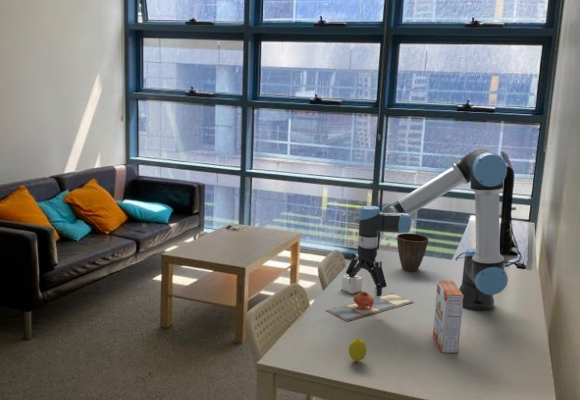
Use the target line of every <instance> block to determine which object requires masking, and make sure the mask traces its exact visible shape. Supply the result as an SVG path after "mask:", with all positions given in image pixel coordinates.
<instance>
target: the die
mask: <svg viewBox="0 0 580 400" xmlns="http://www.w3.org/2000/svg"><path fill="white" fill-rule="evenodd" d="M356 277H357V280H356V292H354V293H350V283H349V279H350V277H349V275H348V274H346V275H343V276H342V279H341V280H342V282H341V290H343V291H344V292H347V293H349V294H355V293H361V292H363V289H362V288H363V277H361V276H359V275H357V274H356Z"/></svg>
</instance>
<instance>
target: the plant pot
mask: <svg viewBox="0 0 580 400" xmlns="http://www.w3.org/2000/svg"><path fill="white" fill-rule="evenodd" d="M396 240H397V243H396V244H397V250H398V251H397V252H398V258H399V262H400V265H401V269H402V270H404V271H407V272H417V271H418V270H419V268H420V266H421V264H422V262H423V260H424V257H425V254H426V251H427V248H428V242H429V237H427V236H425V235H422V234H417V233H398V234H397V235H396Z"/></svg>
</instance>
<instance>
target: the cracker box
mask: <svg viewBox="0 0 580 400" xmlns="http://www.w3.org/2000/svg"><path fill="white" fill-rule="evenodd" d="M436 285H437V286H436V297H435V306H434V317H433V318H434V320H433V330H432V336H433V337H434V340H435V342H436V343H437V346H438V347H439V350H440V352H441V353H449V354H458V353H459V345H460V335H461V327H462V318H463V317H462V316H463V308H464V307H463V299H464V296H463V294H462V293H461V291H460V290H459V289H460V288H459V287H458V286H457V284H456V283H455V281H453V280H437V284H436Z"/></svg>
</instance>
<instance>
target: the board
mask: <svg viewBox="0 0 580 400" xmlns="http://www.w3.org/2000/svg"><path fill="white" fill-rule="evenodd" d="M372 298H373V299H374V297H372ZM413 303H414V301H412V300H410V299H408V298H405V297H402V296H401V295H398V294H396V293H392V292H390V293H386V294H384V295H381V296H380V303H378V304H374V303H373V305H372V308H371V309H370V306H369V307H362V308H361V310H359V306H358V305H357V304H356V303H355V302H353V303H350V304H346V305H342V306H341V305H340V306H337V307H334V308H331V309H326V310H325V312H328V313H329V314H332V315H333V316H335V317H337V318H339V319H341V320H344V321H345V322H352V321H355V320H358V319H361V318H365V317H368V316H371V315H375V314H378V313H382V312H385V311H390V310H393V309H396V308H400V307H404V306H407V305H410V304H413Z"/></svg>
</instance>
